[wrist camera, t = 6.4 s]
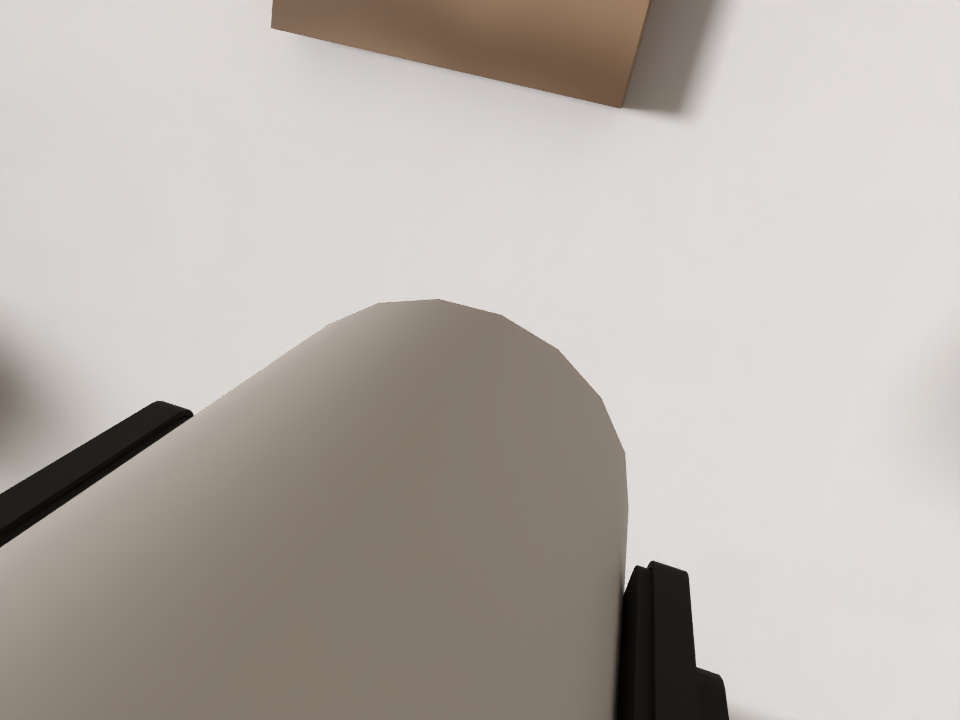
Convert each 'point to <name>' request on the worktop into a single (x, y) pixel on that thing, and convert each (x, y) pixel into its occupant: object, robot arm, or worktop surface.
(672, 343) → the worktop surface
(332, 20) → the walnut board
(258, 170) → the worktop surface
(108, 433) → the robot arm
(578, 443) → the can
